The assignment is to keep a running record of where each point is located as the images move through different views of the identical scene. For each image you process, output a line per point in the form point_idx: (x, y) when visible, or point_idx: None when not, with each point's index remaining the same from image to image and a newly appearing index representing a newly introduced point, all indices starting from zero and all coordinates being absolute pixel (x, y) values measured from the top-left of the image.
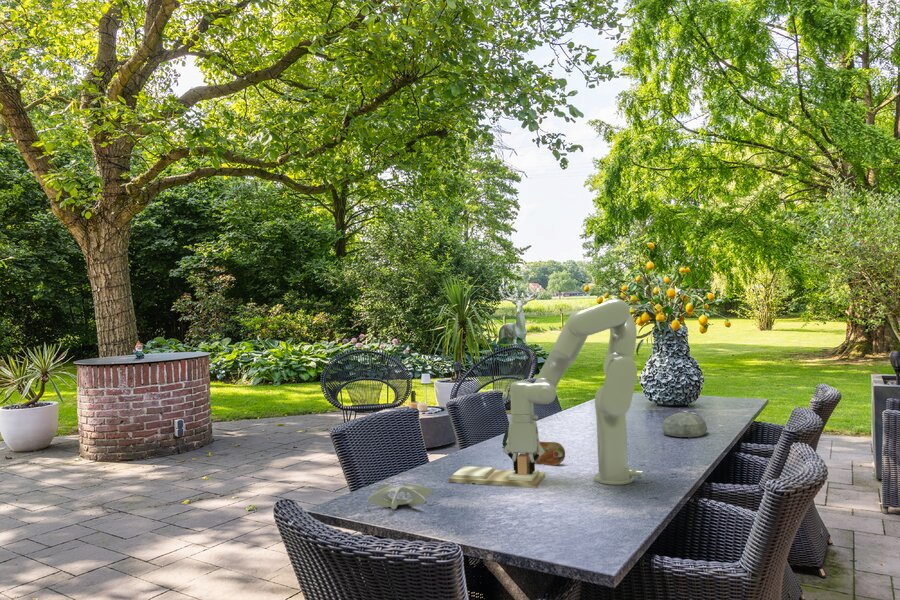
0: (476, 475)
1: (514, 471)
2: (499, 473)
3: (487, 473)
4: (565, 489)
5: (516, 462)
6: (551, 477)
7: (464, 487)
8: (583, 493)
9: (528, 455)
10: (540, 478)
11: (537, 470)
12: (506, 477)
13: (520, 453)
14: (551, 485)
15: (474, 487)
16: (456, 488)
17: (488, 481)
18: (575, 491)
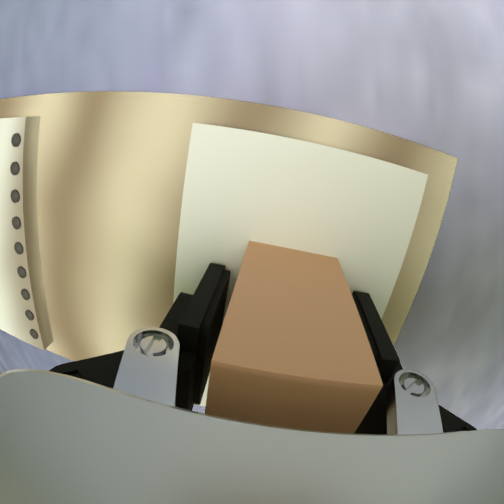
0: (2, 324)
1: (184, 260)
2: (74, 200)
3: (25, 297)
4: (465, 404)
5: (193, 403)
6: (478, 181)
7: (20, 358)
8: (493, 427)
9: (354, 415)
10: (400, 325)
11: (411, 224)
12: (145, 315)
13: (212, 376)
14: (434, 360)
15: (48, 367)
16: (7, 364)
17: (73, 355)
18: (484, 416)
